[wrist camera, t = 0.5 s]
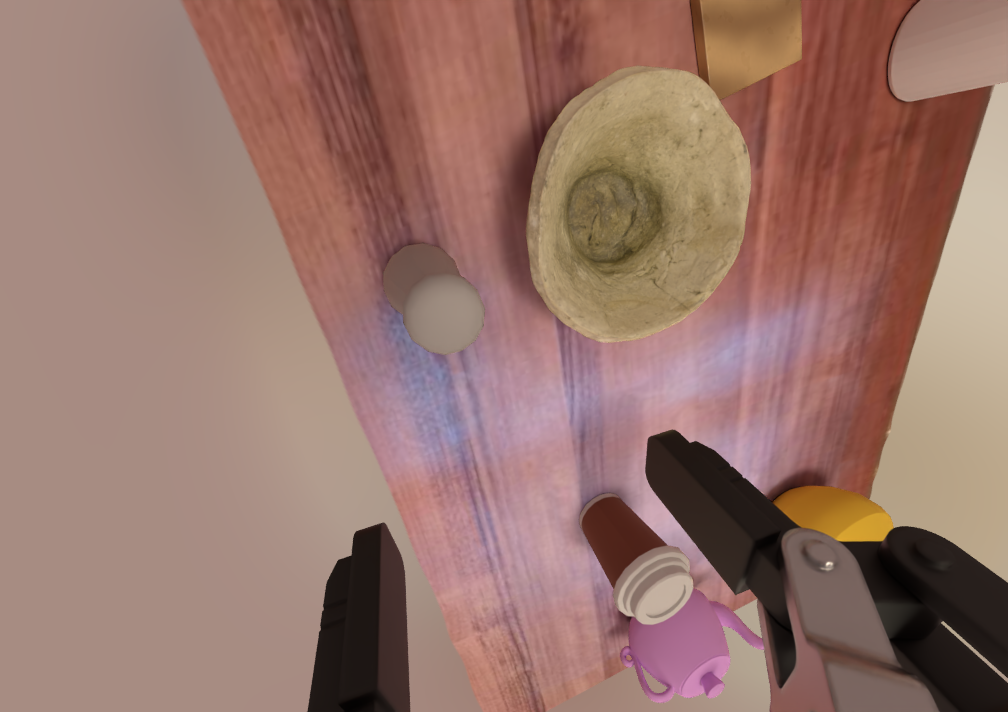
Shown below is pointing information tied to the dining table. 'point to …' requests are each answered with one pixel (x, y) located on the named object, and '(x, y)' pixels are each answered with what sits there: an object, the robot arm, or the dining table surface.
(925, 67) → the mug
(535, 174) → the bowl
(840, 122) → the dining table surface
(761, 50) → the wooden square board
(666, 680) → the teapot
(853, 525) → the vase
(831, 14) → the dining table surface
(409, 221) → the dining table surface
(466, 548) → the dining table surface
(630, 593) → the coffee cup
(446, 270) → the salt shaker
